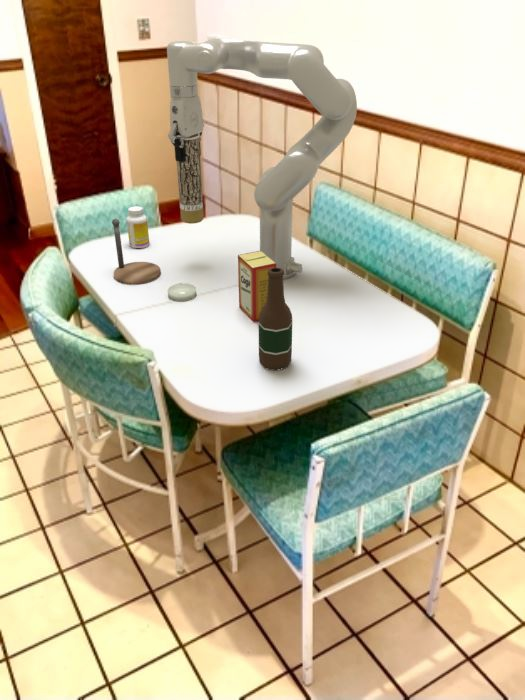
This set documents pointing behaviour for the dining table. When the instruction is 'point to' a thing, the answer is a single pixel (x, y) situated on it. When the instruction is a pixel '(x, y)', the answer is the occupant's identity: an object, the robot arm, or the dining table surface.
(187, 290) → the sage dish
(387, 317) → the dining table surface
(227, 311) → the dining table surface
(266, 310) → the beer bottle
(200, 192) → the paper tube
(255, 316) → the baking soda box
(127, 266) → the holder base
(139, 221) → the supplement bottle
